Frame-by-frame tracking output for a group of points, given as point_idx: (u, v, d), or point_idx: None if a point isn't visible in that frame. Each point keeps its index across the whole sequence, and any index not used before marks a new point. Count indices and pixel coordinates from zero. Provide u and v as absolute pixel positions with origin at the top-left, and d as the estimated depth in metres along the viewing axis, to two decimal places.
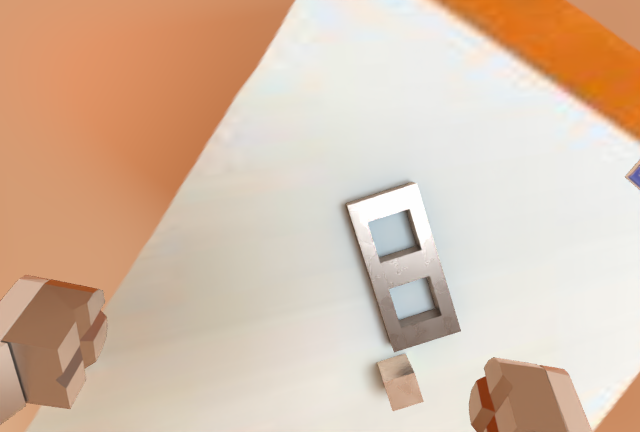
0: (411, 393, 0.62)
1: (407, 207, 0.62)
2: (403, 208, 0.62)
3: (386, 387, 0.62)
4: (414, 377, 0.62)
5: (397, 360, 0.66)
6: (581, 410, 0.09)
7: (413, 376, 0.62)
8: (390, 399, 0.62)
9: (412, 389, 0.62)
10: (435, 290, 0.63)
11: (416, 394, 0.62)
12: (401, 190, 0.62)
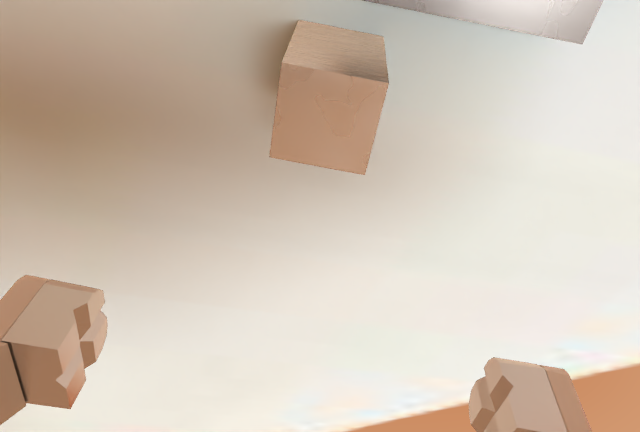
0: (346, 137, 0.20)
1: None
2: None
3: (283, 82, 0.19)
4: (380, 97, 0.19)
5: (354, 39, 0.22)
6: (581, 410, 0.09)
7: (379, 93, 0.19)
8: (278, 123, 0.20)
9: (354, 127, 0.19)
10: None
11: (357, 148, 0.20)
12: None
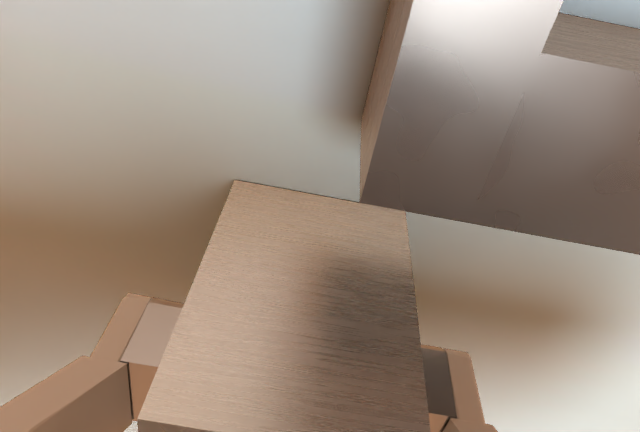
0: None
1: None
2: None
3: None
4: None
5: (346, 237, 0.10)
6: (477, 392, 0.09)
7: None
8: None
9: None
10: None
11: None
12: None
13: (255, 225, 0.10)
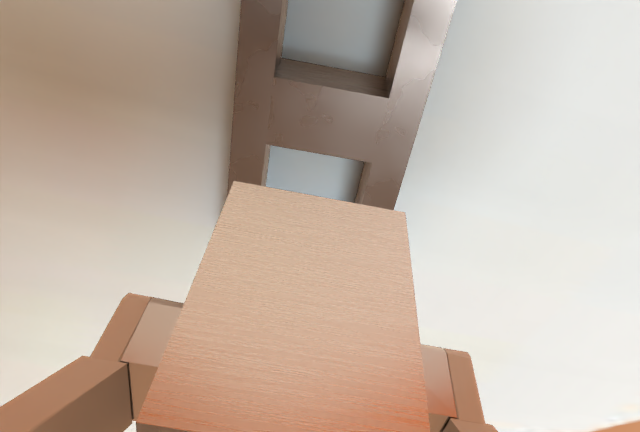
0: None
1: None
2: None
3: None
4: None
5: (345, 239, 0.10)
6: (476, 392, 0.09)
7: None
8: None
9: None
10: (366, 196, 0.27)
11: None
12: None
13: (254, 226, 0.10)
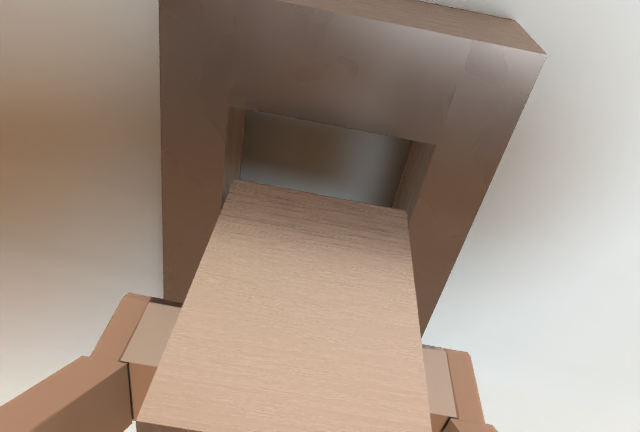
0: None
1: (431, 135, 0.13)
2: (412, 130, 0.13)
3: None
4: None
5: (346, 237, 0.10)
6: (477, 392, 0.09)
7: None
8: None
9: None
10: None
11: None
12: (456, 48, 0.12)
13: (255, 225, 0.10)
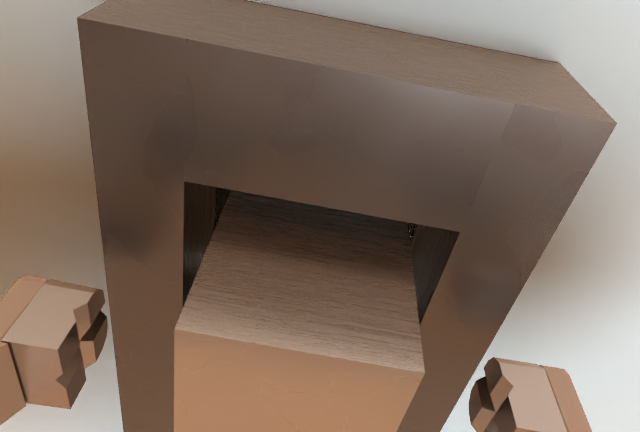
0: None
1: (453, 220, 0.10)
2: (428, 214, 0.10)
3: (184, 360, 0.08)
4: (405, 393, 0.08)
5: None
6: (581, 410, 0.09)
7: (403, 387, 0.08)
8: (183, 417, 0.09)
9: (346, 431, 0.09)
10: None
11: None
12: (491, 114, 0.08)
13: None
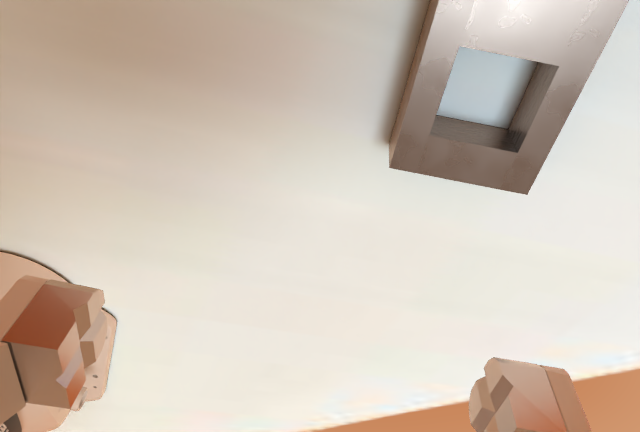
0: None
1: None
2: None
3: None
4: None
5: None
6: (581, 409, 0.09)
7: None
8: None
9: None
10: (544, 101, 0.28)
11: None
12: None
13: None
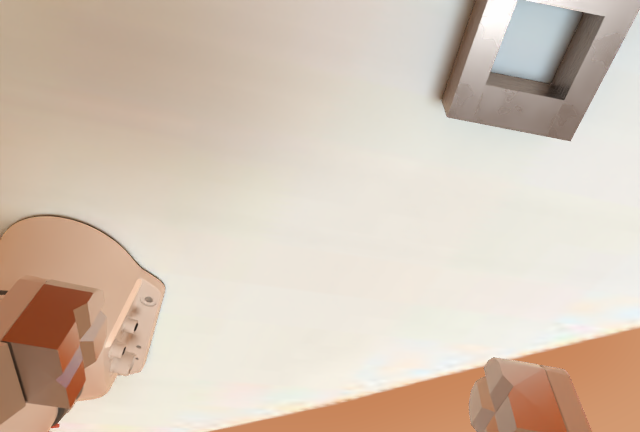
0: None
1: None
2: None
3: None
4: None
5: None
6: (581, 410, 0.09)
7: None
8: None
9: None
10: (590, 50, 0.32)
11: None
12: None
13: None
